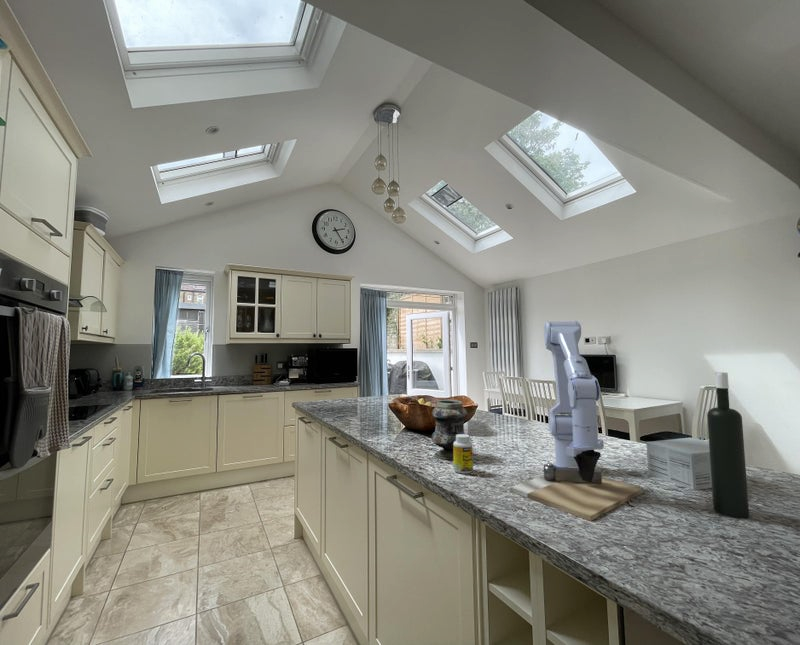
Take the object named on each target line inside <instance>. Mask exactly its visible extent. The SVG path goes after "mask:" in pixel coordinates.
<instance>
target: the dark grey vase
mask: <svg viewBox="0 0 800 645" xmlns="http://www.w3.org/2000/svg"><path fill="white" fill-rule="evenodd" d="M431 415H432V417H433V418H434V419H435V430H434V432H433V433H432V434H431V441H432V443H433V444H434V445H436V446H438V447H439V448H441V449H440V450H438V451H436V452H435V453H434V457H436V458H439V459H441V460H453V461H454V459H453V443H454V442H455V441H456V435H458V434H466V433H465V430H464V428H465V425H464V423H465V422H464V421H465V419H467V417H468V411H467V410H466V408H464V406H463V402H462V400H461V401H460V400H456V399H439V400H437V401H436V406H435V407H434V408H433V409H432V411H431Z"/></svg>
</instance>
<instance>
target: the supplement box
mask: <svg viewBox="0 0 800 645" xmlns="http://www.w3.org/2000/svg"><path fill="white" fill-rule="evenodd" d="M645 443H646V457H647V470H648V472H647V473H648V475H650V476H652V477H653V476H654V477H656V478H659V479H662V480H665V481H668V482H671V483H672V484H675V485H678V486H682V487H684V488H687V489H689V490H693V491H696V490H704V489H710V488H711V489H712V480H711V465H710V450H709V440H703V439H700V438H695V437H683V438H673V439H672V438H671V439H663V440H655V441H654V440H653V441H646V442H645Z"/></svg>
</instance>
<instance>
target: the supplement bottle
mask: <svg viewBox="0 0 800 645" xmlns="http://www.w3.org/2000/svg"><path fill="white" fill-rule="evenodd" d="M470 438H471V437H470V435H469V434H467V433H465V434H458V435H456V441H455V442H454V443H453V459H454V460H453V471H454V472H455V473H458V474H463V475H464V474H470V473H473V470H474V462H473V461H474V460H473V455H474V454H473V443H472V442H471V441H470V440H471V439H470Z"/></svg>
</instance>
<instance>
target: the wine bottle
mask: <svg viewBox="0 0 800 645" xmlns="http://www.w3.org/2000/svg"><path fill="white" fill-rule="evenodd" d="M714 378H715V380H714V381H715V388H716V401H717V407H713V408H710V409H709V410H708V411H707V414H706V416H707V419H706V420H707V433H708V435H707V436H708V441H709V450H710V465H711V480H712V488H711V492H712V493H711V494H712V495H711V496H712V509H713V511H714V512H716V513H717V514H719V515H722V516H725V517H729V518H733V519H743V520H744V519H748V518H750V509H749V507H750V506H749V495H748V481H747V479H748V478H747V469H746V468H747V467H746V456H745V441H744V429H743V428H744V426H743V425H744V424H743V417H742V414H741V413H740V412H739V411H738V410H736V409H733V408H730V396H729V395H730V394H729V389H730V388H729V374H728V372H723V371H722V372H721V371H717V372H714Z"/></svg>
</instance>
